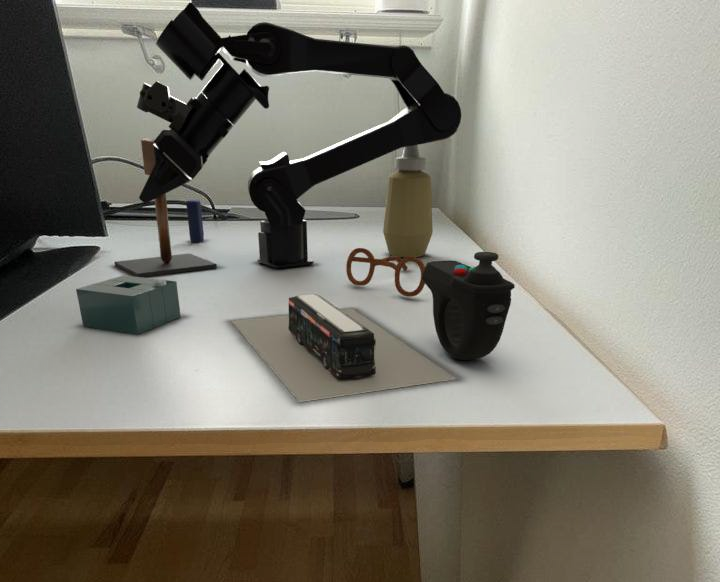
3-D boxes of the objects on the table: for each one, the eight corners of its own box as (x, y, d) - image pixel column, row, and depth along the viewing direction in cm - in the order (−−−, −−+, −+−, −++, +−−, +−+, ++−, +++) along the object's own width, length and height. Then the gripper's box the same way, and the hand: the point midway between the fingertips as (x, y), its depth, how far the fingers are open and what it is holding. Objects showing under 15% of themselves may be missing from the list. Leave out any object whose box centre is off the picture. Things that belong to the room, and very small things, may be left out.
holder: (129, 309, 77) (123, 275, 76) (181, 317, 75) (176, 281, 73) (83, 326, 72) (75, 288, 70) (138, 334, 69) (131, 296, 67)
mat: (189, 257, 105) (189, 253, 105) (217, 268, 98) (216, 263, 98) (114, 265, 99) (114, 261, 99) (138, 278, 92) (137, 273, 92)
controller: (468, 377, 58) (479, 261, 54) (413, 338, 69) (418, 237, 64) (511, 372, 60) (525, 258, 55) (451, 334, 70) (458, 235, 65)
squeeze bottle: (428, 260, 104) (435, 131, 95) (378, 258, 105) (380, 131, 97) (433, 251, 111) (440, 130, 102) (386, 249, 112) (389, 130, 104)
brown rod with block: (179, 262, 99) (169, 141, 87) (175, 266, 98) (164, 145, 86) (158, 257, 99) (145, 136, 88) (153, 262, 98) (139, 140, 86)
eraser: (193, 240, 119) (189, 199, 116) (205, 240, 119) (201, 199, 116) (189, 242, 117) (184, 200, 114) (201, 242, 117) (196, 201, 114)
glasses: (344, 285, 89) (344, 246, 87) (405, 270, 98) (407, 235, 95) (420, 302, 81) (422, 260, 79) (480, 285, 90) (483, 246, 87)
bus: (299, 402, 53) (297, 351, 51) (231, 321, 74) (227, 282, 71) (456, 379, 58) (460, 332, 56) (351, 309, 78) (352, 272, 76)
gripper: (175, 63, 94) (108, 148, 98) (161, 53, 78) (82, 156, 82) (235, 125, 99) (169, 205, 103) (234, 128, 83) (156, 222, 87)
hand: (146, 197), depth 94 cm, fingers open, 9 cm apart
